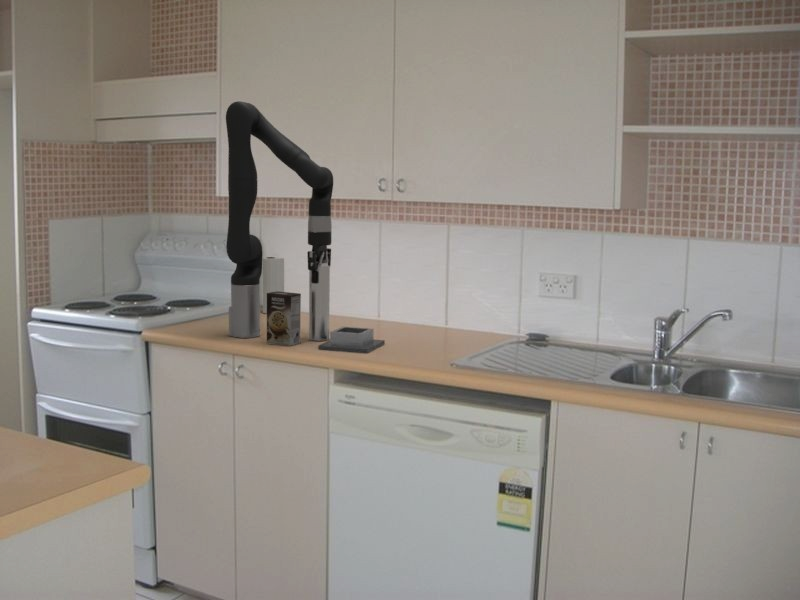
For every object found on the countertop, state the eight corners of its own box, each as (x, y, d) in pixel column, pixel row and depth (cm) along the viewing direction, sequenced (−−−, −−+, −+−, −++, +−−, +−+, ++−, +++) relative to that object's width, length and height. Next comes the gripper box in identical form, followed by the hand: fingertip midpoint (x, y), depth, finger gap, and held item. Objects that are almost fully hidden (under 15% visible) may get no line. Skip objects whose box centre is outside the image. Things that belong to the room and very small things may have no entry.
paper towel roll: (259, 313, 342) (259, 257, 339) (271, 311, 346) (271, 256, 343) (272, 315, 337) (272, 258, 334) (284, 313, 342) (284, 257, 339)
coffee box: (265, 343, 282) (265, 292, 279) (277, 340, 287) (276, 290, 285) (290, 346, 278) (290, 295, 275) (301, 343, 283) (301, 292, 281)
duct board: (318, 349, 274) (318, 332, 273) (337, 340, 289) (337, 324, 288) (367, 353, 269) (367, 336, 268) (384, 344, 284) (384, 327, 283)
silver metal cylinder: (325, 341, 286) (326, 263, 282) (306, 340, 287) (306, 262, 283) (331, 337, 292) (332, 261, 288) (312, 336, 293) (312, 261, 290)
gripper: (317, 228, 292) (317, 279, 295) (299, 230, 279) (299, 284, 281) (339, 229, 290) (338, 280, 292) (321, 231, 277) (321, 285, 279)
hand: (319, 281), depth 287 cm, fingers closed on silver metal cylinder, 6 cm apart
